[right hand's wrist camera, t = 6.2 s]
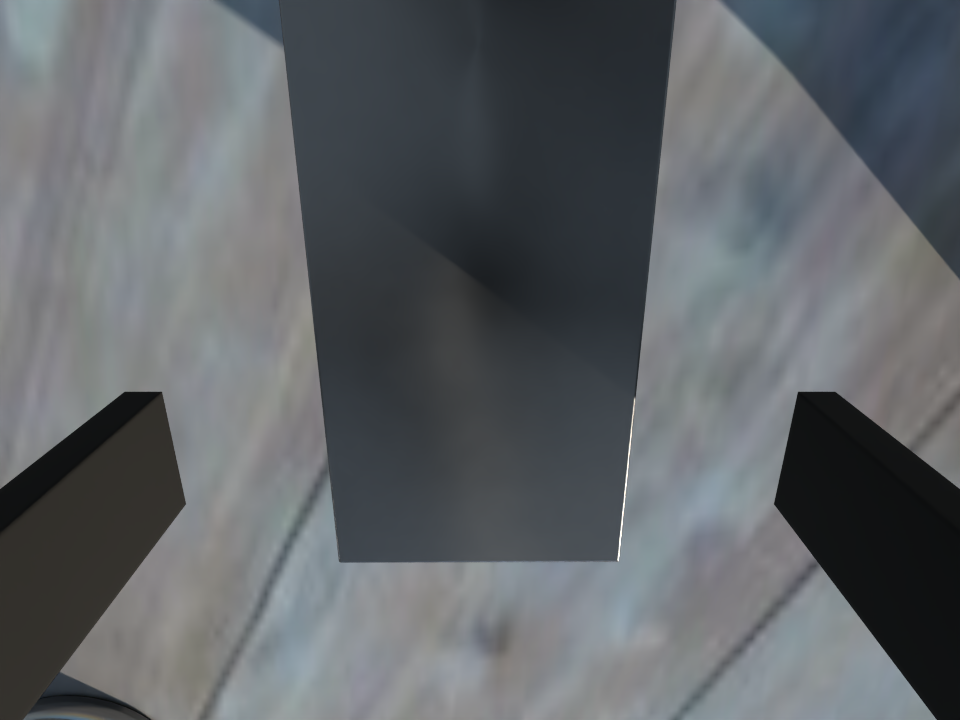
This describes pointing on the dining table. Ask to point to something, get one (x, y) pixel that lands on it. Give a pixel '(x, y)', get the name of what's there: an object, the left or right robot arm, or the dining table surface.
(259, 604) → the dining table surface
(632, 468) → the dining table surface
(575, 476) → the box
